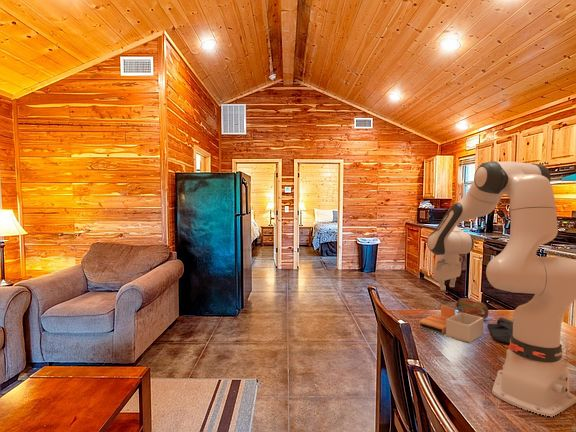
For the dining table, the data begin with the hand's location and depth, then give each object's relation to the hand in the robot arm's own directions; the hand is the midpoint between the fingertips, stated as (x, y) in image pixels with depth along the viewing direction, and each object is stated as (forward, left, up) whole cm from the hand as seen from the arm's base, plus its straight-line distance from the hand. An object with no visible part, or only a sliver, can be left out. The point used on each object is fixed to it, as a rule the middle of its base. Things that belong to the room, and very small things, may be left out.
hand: (447, 288), depth 145 cm
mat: (-8, 0, -16) cm, 18 cm away
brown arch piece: (+17, -4, -16) cm, 24 cm away
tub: (-9, -11, -16) cm, 22 cm away
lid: (-7, 0, -16) cm, 17 cm away
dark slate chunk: (+5, -23, -17) cm, 29 cm away
